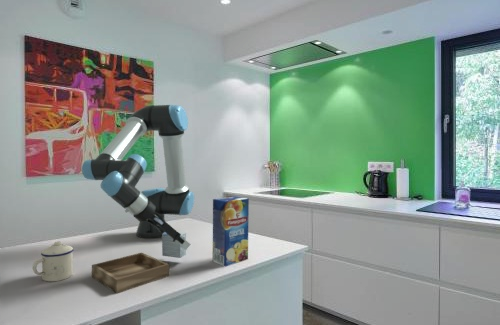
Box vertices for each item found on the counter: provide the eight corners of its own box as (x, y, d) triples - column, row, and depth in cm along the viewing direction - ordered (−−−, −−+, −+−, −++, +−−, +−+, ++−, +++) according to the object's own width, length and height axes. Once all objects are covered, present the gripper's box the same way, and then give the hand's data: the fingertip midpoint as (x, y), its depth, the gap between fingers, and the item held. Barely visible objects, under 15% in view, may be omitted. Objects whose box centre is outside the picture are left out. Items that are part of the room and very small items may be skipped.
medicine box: (186, 254, 120) (186, 232, 120) (180, 258, 116) (180, 235, 116) (168, 252, 123) (168, 230, 123) (161, 256, 119) (161, 233, 118)
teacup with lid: (63, 269, 111) (63, 236, 111) (79, 275, 107) (79, 240, 106) (25, 281, 101) (25, 245, 100) (41, 288, 96) (40, 250, 96)
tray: (91, 276, 105) (91, 264, 105) (141, 263, 118) (141, 252, 118) (116, 293, 93) (116, 279, 93) (169, 276, 106) (169, 264, 106)
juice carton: (224, 266, 116) (225, 201, 115) (212, 261, 121) (212, 199, 120) (248, 259, 124) (248, 198, 123) (235, 254, 130) (236, 196, 129)
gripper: (123, 210, 118) (164, 245, 128) (143, 221, 101) (188, 260, 112) (137, 195, 121) (176, 230, 131) (159, 203, 104) (202, 242, 115)
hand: (182, 244), depth 121 cm, fingers closed on medicine box, 9 cm apart
